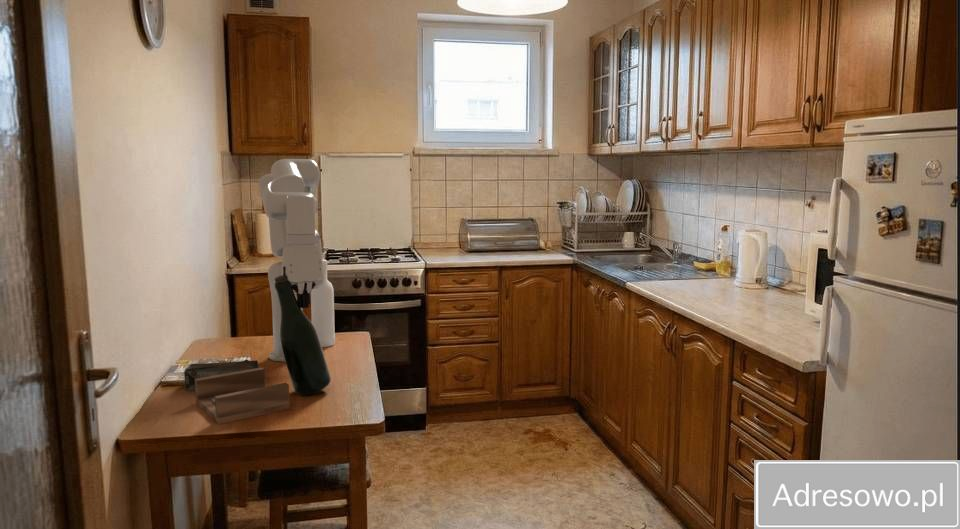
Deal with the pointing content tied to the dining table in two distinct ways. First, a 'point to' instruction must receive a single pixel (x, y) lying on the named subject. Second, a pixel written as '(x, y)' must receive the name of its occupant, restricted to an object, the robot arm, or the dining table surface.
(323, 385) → the beer bottle
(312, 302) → the bottle
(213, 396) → the cradle
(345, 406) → the dining table surface
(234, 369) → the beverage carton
